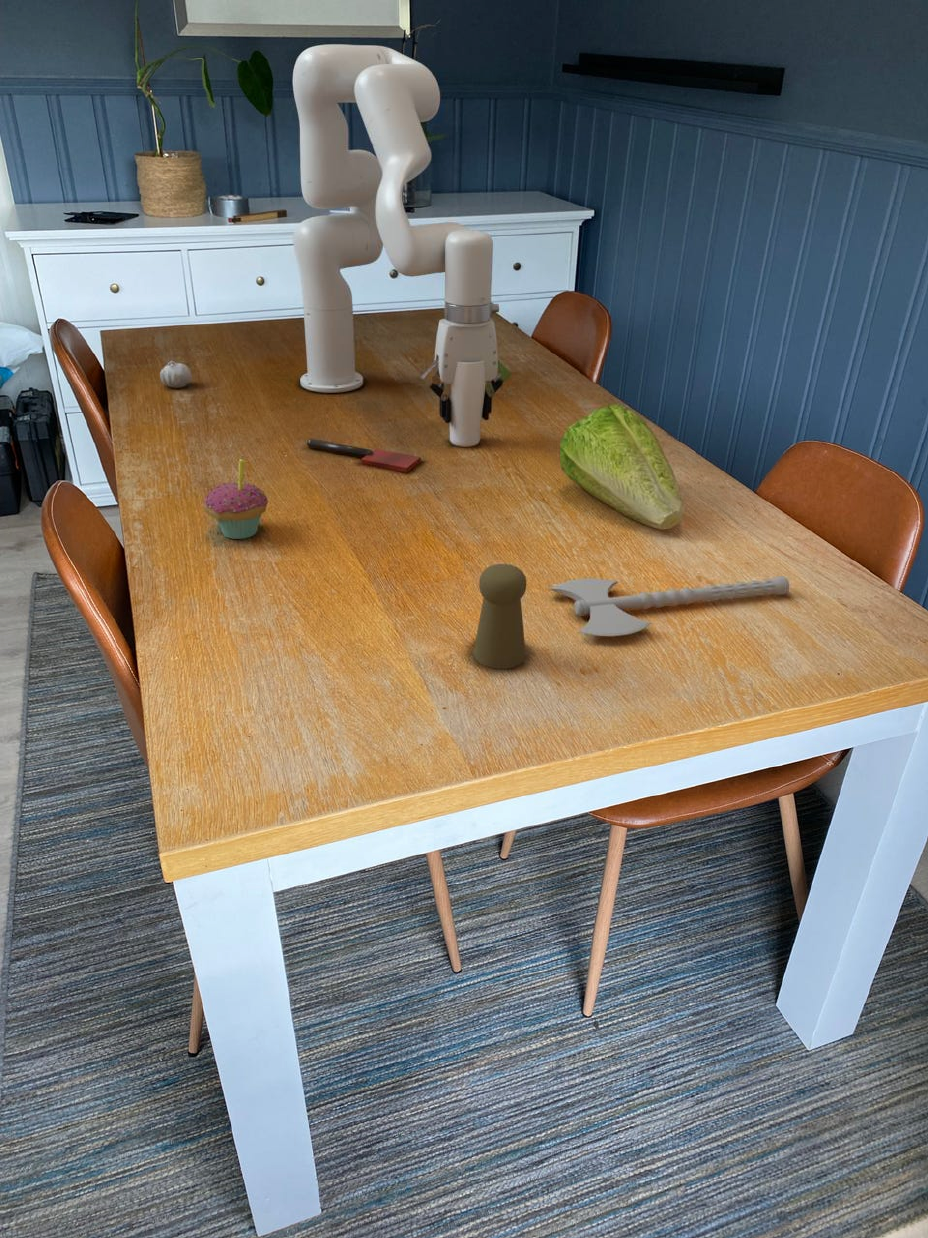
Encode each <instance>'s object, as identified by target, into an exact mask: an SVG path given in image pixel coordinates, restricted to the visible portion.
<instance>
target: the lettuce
mask: <svg viewBox="0 0 928 1238" xmlns="http://www.w3.org/2000/svg"><path fill="white" fill-rule="evenodd" d="M559 461H560V466H561V471H562V472H563V473H564V474H565V475H566V476H567V477H568V479H569V480H571V481H572V482H573V483H575V484H576V485H577V486H579V487H581V489H583V490H584V491H586V492H587V493H588V494H590V495H591V496H592V497H594V499H597V500H599V501H601V502H603V503H604V504H606V505H607V506H610V508H613V509H614V510H616V511H617V512H618V513H620V514H622V515H623V516H625V517H627V518H630V519H632V520H634V521H636V522H638V523H641V524H643V525H645V526H648V527H651V528H653V529H658V530H661V531H664V530H670V529H672V528H673V527H675V526H677V524H679V522H680V521H681V520H682V518H683V516H684V502H683V496H682V493H681V490H680V485H679V483H678V480H677V477H676V474H675V471H674V470H673V468H672V466H671V464H670V462H669V460H668V458H667V457H666V454H665V452H664V450H663V448H662V446H661V444H660V442H659V440H658V438H657V437H656V435H655V434H654V433H653V431H652V430H651V429H650V427H649V426H648V424H647V423H646V421H644V419H642V418H641V417H639V415H637V414H636V413H635V412H633V411H632V410H631V409H630V408H628V407H625V406H623V405H620V404H617V403H615V404H611V405H608V406H605V407H601V408H599V409H596V410H593V411H592V412H591V413H588V414H587V415H586V416H585V417H583V418H581V419H580V420H578V421H576V422H574V423H572V424H571V425H569V426H568V427H567V430H566V431H565V432H564V434H563V436H562V437H561V440H560V442H559Z"/></svg>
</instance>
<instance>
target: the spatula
mask: <svg viewBox="0 0 928 1238" xmlns="http://www.w3.org/2000/svg"><path fill="white" fill-rule="evenodd" d="M306 445H307V447H308V448H310V449H313V450H317V451H318V450H319V451H324V452H329V453H334V454H340V455H345V456H350V457H354V458H355V457H356V458H359V459H360V458H361V460H360V462H361V465H365V466H369V467H376V468H379V469H380V468H381V469H385V470H391V471H395V472H399V473H400V472H401V473H406V474H407V473H409V472H410V471H412V470H413V469H414V468H415V467H416V466H418V465H419V464H420V463H421V462H422V457H421V456H416V455H411V454H408V453H407V454H406V453H401V452H395V451H392V450H391V451H390V450H385V449H380V448H376V449H374V450H372V449H369V448H363V447H358V446H353V445H348V444H342V443H338V442H333V441H326V440H321V439H317V438H309V439H308V440H307V442H306Z"/></svg>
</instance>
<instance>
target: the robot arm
mask: <svg viewBox="0 0 928 1238" xmlns="http://www.w3.org/2000/svg"><path fill="white" fill-rule="evenodd" d="M292 89H293V90H292V91H293V97H294V101H295V106H296V111H297V115H298V121H299V154H300V155H299V156H300V157H299V158H300V160H299V162H300V163H299V164H300V187H301V188H300V189H301V193H302V197H303V199H304V202H305V203H306V204H307V205H308V206H309V207H312V208H313V209H318V210H334V209H342V208H343V209H345V208H349V212H348V213H339V214H338V213H336V214H326V215H316V216H312V217H309V218H306V219H304V220H302V221H301V222H300V223H298V225H297V226H296V227H295V229H294V232H293V237H292V241H293V250H294V253H295V254H294V255H295V257H296V262H297V265H298V266H297V267H298V271H299V277H300V283H301V296H302V306H303V307H302V308H303V322H304V336H305V337H304V338H305V339H304V340H305V353H306V354H305V355H306V369H307V373H305V374H303V375H302V376H300V380H299V383H300V384H299V385H300V386H301V388H303V389H306V390H307V391H312V392H316V393H324V394H335V393H337V394H338V393H346V392H350V391H353V390H354V391H355V390H356V389H359V388H360V387H361V386H362V385H364V377H363V375H361V374H360V373H359V372H356V361H355V360H356V359H355V358H356V357H355V334H354V331H355V330H354V309H353V307H354V306H353V305H354V304H353V294H352V290H351V288H350V285H349V283H348V282H347V280H346V279H345V277H344V276H343V274H342V272H341V270H343V269H346V268H347V269H348V268H355V267H361V266H366V265H370V264H374V263H375V262H376V261H378V259H379V258H380V256H381V255H382V252H383V250H385V252H386V255H387V257H388V259H389V261H390V263H391V265H392V266H393V268H394V269H395V270H396V271H397V272H398V273H399V274H401V275H403V276H404V277H411V278H412V277H420V276H421V277H422V276H427V275H433V274H442V273H444V318H441V319H439V322H438V325H437V330H436V338H435V349H434V359H433V360H434V361H433V362H432V363H431V365H430V366H429V367H428V368H427V369H426V370H425V371H424V372H423V373H422V374H421V376H420V380H421V381H422V382H423V384H425V386H427V387H428V388H429V389H430V390H431V391H432V392H433V393H434V394H435V395H436V396H438V399H439V403H438V404H439V405H438V406H439V407H438V410H439V413H438V414H439V416H440V418H442V420H443V421H444V423H445V424H449V423H450V422H451V401H450V400H449V394H450V392H451V384H453V383H454V380H455V374H456V368H457V362H478V361H482V360H483V361H484V368H485V382H486V386H485V395H484V404H483V412H482V420H484V421H489V420H490V414H492V409H493V408H492V407H493V397H494V396H495V395H496V392H497V391H498V390H500V389H501V387H502V386H503V384H504V383H505V382H506V381H507V380H508V379H509V378H510V377H511V375H512V372H511V370H509V368H508V367H506V365H504V364H503V363H502V361H501V360H499V357H498V341H497V332H496V325H495V321H494V320H493V314H495V313H499V312H500V305H499V303H494V302H492V290H493V289H492V287H493V286H492V285H493V261H494V260H493V258H494V242H493V238H492V236H491V234H489V233H488V232H485V231H482V230H475V229H470V228H468V227H466V226H464V225H463V224H461V223H458V222H454V221H452V222H450V221H448V222H438V223H428V224H427V223H426V224H418V225H411V223H410V221H409V218H408V215H407V213H406V210H405V207H404V202H403V188H404V185H405V184H407V183H409V182H410V181H412V180H413V179H414V178H416V177H418V176H419V175H420V174H422V172H425V170H426V169H427V167H428V166H429V165H430V163H431V161H432V150H431V148H430V146H429V142H428V141H427V137H426V134H425V132H424V130H423V127H422V124H421V123H425V122H428V121H430V120H432V119H433V118H434V117H435V116H436V115H437V113H438V111H439V108H440V103H441V91H440V87H439V85H438V81H437V79H436V77H435V76H434V74H433V72H432V71H431V70H430V69H429V68H428V67H427V66H425V65H424V64H423V63H422V62H419V61H417V60H415V59H413V58H411V57H409V56H407V55H405V54H402V53H401V52H399V51H397V50H395V49H393V48H390V47H388V46H382V45H371V44H370V45H369V44H368V45H365V44H364V45H363V44H361V45H360V44H341V43H339V44H338V43H337V44H335V43H333V44H331V43H330V44H320V45H314V46H311V47H308V48H306V49H305V50H303V51H302V52H301V53H300V54H299V55H298V56H297V58H296V61H295V64H294V66H293V71H292ZM339 103H341V104H342V103H349V104H351V103H353V104H355V103H356V105H357V109H358V110H359V113H360V116H361V118H362V121H363V124H364V127H365V129H366V132H367V135H368V137H369V140H370V142H371V145H372V149H373V150H374V153H375V154H374V153H372V152H370V151H368V150H364V149H349V127H348V126H349V125H348V122H347V119H346V116H345V115H344V112H343V110H342V109H341V106H340V105H339ZM383 248H384V249H383ZM435 376H436V377H438V378H439V380H440V384H439V385H438V384H437V383H436V382H435V381H434V380H433V379H434V377H435Z"/></svg>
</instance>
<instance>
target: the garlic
mask: <svg viewBox="0 0 928 1238" xmlns="http://www.w3.org/2000/svg"><path fill="white" fill-rule="evenodd" d="M159 377H160V380H161V382H162V384H164V385H165V386H166V387H167V386H168V387H169V388H172V389H173V388H175V389H180V388H184V387H186V386H187V385H188V384H189V383H190V382H191V380H192V372H191V370H190V368H189V366H187V365H186V364H184V363H179V362H175V361H174V360H170V361H169V362H168V363H167V365H165V366H164V367H163V368H162V369H161V370H160V371H159Z"/></svg>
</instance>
